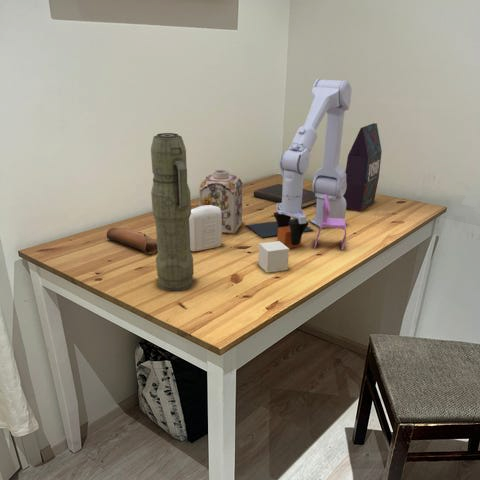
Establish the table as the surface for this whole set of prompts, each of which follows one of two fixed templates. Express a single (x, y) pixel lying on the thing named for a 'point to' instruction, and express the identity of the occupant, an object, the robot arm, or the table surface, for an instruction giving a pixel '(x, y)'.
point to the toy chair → (330, 221)
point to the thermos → (171, 212)
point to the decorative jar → (223, 198)
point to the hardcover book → (276, 195)
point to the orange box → (286, 237)
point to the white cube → (273, 256)
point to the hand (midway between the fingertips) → (289, 240)
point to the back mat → (268, 229)
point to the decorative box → (363, 169)
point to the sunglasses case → (133, 239)
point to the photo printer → (205, 227)
